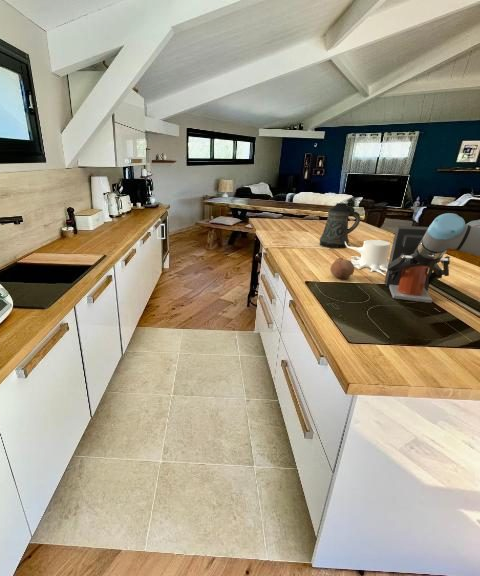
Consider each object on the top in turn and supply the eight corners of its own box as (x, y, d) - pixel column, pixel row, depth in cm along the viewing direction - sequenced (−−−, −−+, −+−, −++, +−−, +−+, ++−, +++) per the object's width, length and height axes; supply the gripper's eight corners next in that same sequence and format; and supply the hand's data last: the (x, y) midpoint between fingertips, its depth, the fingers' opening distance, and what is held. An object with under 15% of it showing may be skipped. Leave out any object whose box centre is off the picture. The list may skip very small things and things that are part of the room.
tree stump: (332, 265, 155) (335, 243, 151) (352, 253, 174) (356, 233, 169) (395, 277, 137) (401, 252, 133) (411, 263, 155) (416, 240, 151)
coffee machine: (423, 286, 127) (439, 227, 119) (434, 303, 112) (453, 237, 103) (384, 282, 133) (396, 225, 124) (389, 297, 118) (404, 234, 109)
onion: (332, 281, 143) (329, 260, 144) (355, 278, 139) (351, 256, 140) (331, 281, 134) (328, 258, 135) (356, 277, 130) (352, 254, 131)
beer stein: (315, 242, 200) (320, 202, 191) (346, 241, 199) (352, 201, 190) (324, 248, 185) (330, 205, 176) (358, 248, 184) (365, 204, 175)
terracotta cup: (419, 289, 121) (427, 262, 117) (424, 297, 115) (432, 268, 111) (395, 286, 125) (402, 260, 120) (399, 294, 118) (405, 266, 114)
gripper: (388, 256, 105) (375, 284, 124) (477, 263, 96) (448, 291, 115) (389, 237, 107) (376, 267, 126) (476, 242, 98) (448, 273, 117)
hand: (410, 279), depth 120 cm, fingers open, 11 cm apart
